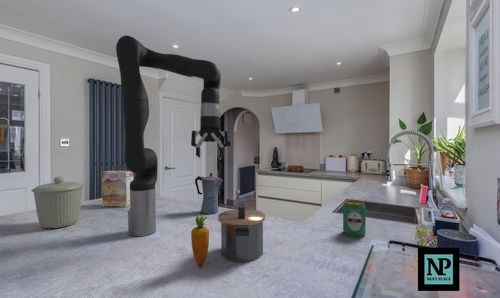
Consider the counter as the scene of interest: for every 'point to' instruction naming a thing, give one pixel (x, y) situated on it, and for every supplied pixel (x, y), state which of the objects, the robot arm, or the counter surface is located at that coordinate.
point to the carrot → (200, 241)
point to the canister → (58, 203)
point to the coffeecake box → (116, 188)
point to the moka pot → (209, 193)
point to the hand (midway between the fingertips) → (209, 157)
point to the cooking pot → (242, 242)
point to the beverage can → (354, 218)
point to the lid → (241, 216)
